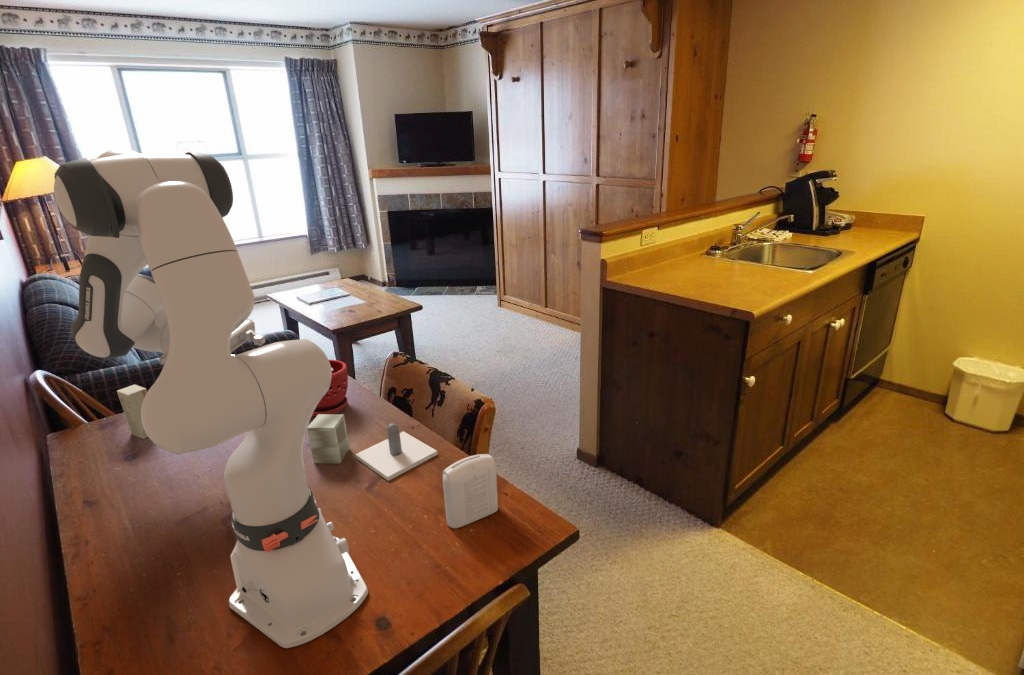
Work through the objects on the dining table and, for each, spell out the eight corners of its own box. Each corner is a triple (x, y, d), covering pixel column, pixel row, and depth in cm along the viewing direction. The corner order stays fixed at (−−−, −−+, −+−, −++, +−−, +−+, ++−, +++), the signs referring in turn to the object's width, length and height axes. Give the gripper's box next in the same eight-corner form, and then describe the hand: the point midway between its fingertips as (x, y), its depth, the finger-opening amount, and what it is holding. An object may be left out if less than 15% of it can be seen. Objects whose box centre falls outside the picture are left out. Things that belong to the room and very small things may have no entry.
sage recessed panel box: (314, 463, 120) (306, 427, 117) (324, 448, 126) (318, 414, 123) (340, 463, 120) (333, 427, 116) (349, 448, 125) (343, 414, 122)
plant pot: (339, 421, 138) (331, 378, 133) (291, 419, 140) (282, 377, 136) (360, 398, 150) (354, 358, 145) (316, 396, 152) (309, 357, 148)
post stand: (437, 454, 121) (434, 422, 118) (388, 480, 113) (383, 446, 110) (403, 434, 130) (399, 404, 127) (355, 458, 121) (350, 425, 119)
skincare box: (161, 432, 136) (147, 388, 132) (142, 440, 133) (128, 395, 129) (148, 425, 140) (134, 383, 135) (130, 433, 136) (115, 390, 132)
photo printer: (490, 499, 106) (486, 444, 101) (502, 511, 102) (498, 455, 98) (442, 520, 101) (436, 463, 96) (453, 533, 97) (447, 475, 93)
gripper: (150, 347, 104) (219, 361, 103) (217, 306, 122) (275, 318, 121) (155, 375, 107) (222, 389, 106) (219, 331, 125) (276, 343, 124)
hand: (251, 351), depth 114 cm, fingers open, 8 cm apart
